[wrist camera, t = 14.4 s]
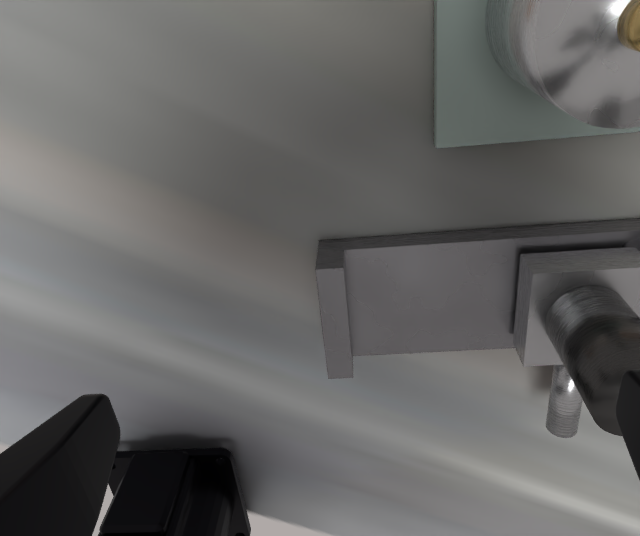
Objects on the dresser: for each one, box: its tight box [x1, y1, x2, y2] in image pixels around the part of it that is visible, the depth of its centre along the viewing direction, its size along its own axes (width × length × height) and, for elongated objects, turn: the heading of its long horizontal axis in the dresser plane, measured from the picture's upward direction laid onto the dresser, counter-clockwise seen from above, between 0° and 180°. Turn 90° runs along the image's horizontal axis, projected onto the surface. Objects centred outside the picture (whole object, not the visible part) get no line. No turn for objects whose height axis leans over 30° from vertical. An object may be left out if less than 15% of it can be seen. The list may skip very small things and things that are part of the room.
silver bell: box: [485, 0, 640, 129], centre depth 14 cm, size 5×5×6 cm
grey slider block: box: [513, 247, 640, 438], centre depth 19 cm, size 8×4×6 cm, turn 6°
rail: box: [315, 218, 640, 379], centre depth 21 cm, size 5×13×2 cm, turn 96°
